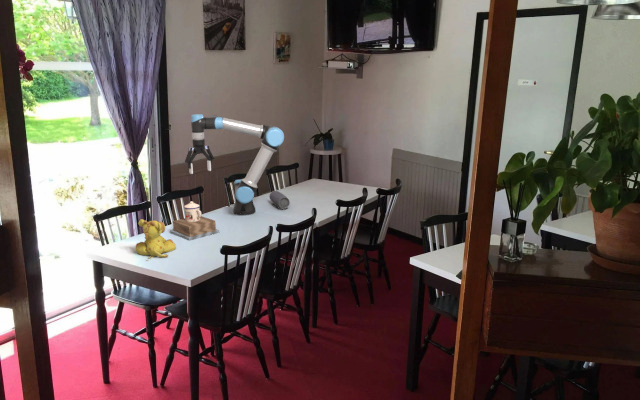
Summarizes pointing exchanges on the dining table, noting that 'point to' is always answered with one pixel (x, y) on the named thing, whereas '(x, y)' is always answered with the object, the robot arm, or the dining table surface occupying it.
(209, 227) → the plinth
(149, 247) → the giraffe plush
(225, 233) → the dining table surface
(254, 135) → the robot arm
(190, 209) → the teacup with lid
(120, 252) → the dining table surface
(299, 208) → the dining table surface
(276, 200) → the bluetooth speaker
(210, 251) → the dining table surface
